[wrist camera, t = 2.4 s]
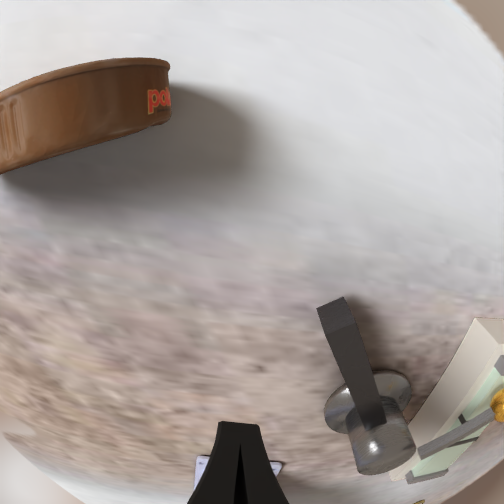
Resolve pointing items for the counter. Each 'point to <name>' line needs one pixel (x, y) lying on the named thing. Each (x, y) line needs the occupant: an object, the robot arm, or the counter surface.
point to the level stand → (457, 399)
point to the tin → (81, 108)
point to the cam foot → (379, 402)
